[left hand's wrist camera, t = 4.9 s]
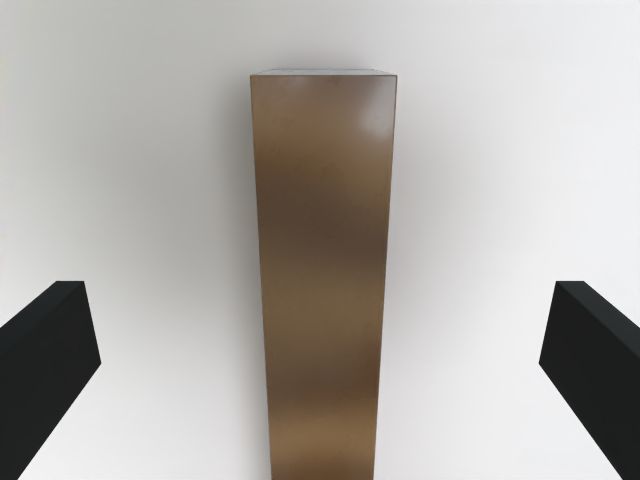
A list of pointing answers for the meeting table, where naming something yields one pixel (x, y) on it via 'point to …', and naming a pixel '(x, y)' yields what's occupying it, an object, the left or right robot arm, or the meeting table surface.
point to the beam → (323, 262)
